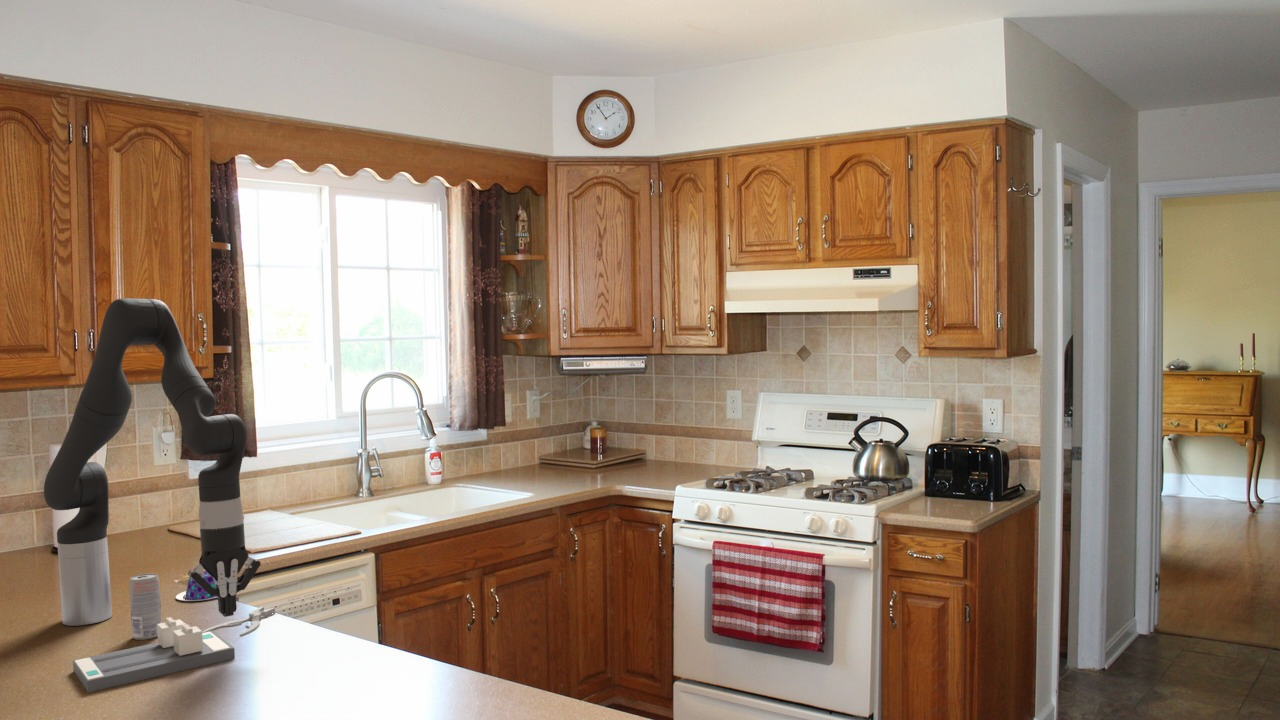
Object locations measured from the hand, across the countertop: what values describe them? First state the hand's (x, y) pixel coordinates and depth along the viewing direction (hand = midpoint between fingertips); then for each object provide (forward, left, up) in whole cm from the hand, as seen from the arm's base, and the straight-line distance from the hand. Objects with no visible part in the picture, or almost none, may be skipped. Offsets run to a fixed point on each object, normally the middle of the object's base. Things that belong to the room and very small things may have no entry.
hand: (227, 615), depth 187 cm
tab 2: (0, -7, -5) cm, 9 cm away
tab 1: (-7, -8, -5) cm, 12 cm away
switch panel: (-4, -12, -7) cm, 15 cm away
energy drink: (-24, -9, -8) cm, 26 cm away
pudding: (-48, +8, -8) cm, 49 cm away
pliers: (-18, +8, -8) cm, 21 cm away
